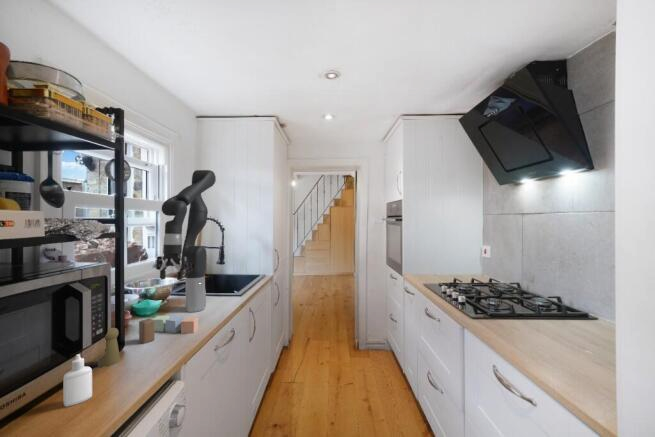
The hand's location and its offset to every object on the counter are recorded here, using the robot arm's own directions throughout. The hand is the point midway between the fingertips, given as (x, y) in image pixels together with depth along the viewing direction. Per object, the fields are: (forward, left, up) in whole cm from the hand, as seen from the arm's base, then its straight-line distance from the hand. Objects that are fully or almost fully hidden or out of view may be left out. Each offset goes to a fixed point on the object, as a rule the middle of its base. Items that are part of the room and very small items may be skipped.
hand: (171, 279), depth 133 cm
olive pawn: (+36, +5, -20) cm, 42 cm away
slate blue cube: (+7, +7, -20) cm, 23 cm away
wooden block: (+19, +4, -20) cm, 28 cm away
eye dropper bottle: (+55, +16, -20) cm, 61 cm away
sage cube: (+7, 0, -20) cm, 21 cm away
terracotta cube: (+7, +14, -20) cm, 26 cm away
